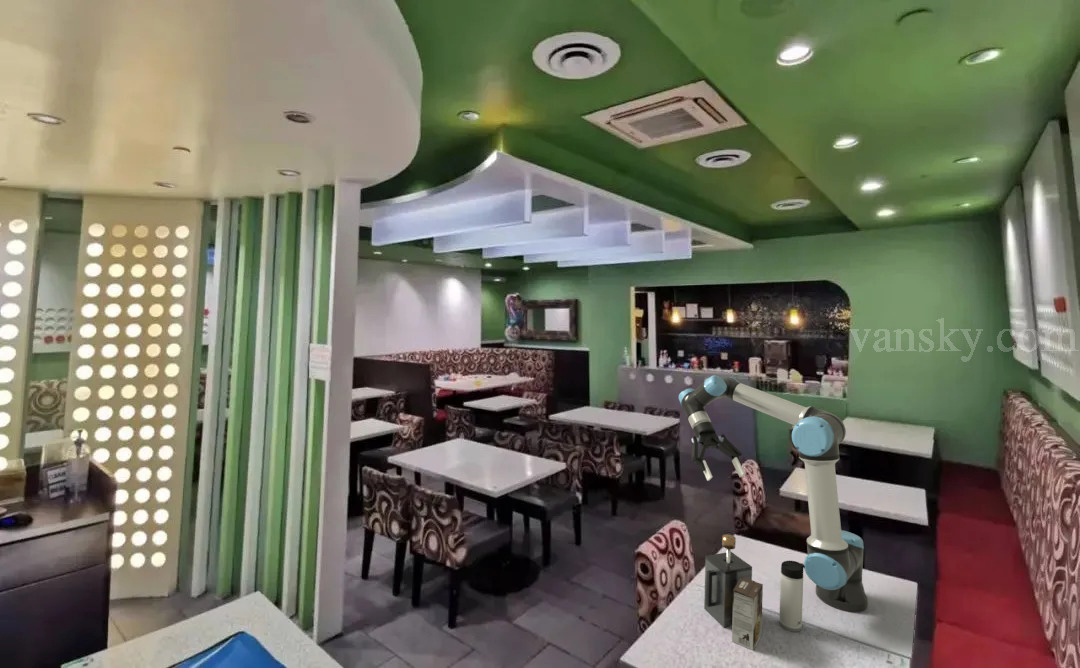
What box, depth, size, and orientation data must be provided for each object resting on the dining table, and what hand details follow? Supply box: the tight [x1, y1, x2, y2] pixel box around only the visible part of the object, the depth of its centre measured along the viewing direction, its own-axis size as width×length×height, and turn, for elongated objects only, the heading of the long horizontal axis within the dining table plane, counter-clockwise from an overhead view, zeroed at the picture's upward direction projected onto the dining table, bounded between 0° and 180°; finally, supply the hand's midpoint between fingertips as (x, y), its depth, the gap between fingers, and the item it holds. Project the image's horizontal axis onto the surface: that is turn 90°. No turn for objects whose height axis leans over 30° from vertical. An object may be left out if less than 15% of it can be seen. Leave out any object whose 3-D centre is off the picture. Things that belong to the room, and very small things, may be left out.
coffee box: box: [731, 577, 764, 651], centre depth 145 cm, size 9×6×16 cm
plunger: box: [721, 533, 736, 563], centre depth 156 cm, size 8×8×24 cm
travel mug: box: [778, 560, 805, 633], centre depth 151 cm, size 6×7×20 cm
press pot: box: [703, 551, 753, 629], centre depth 156 cm, size 13×10×18 cm
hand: (726, 477), depth 172 cm, fingers open, 13 cm apart
